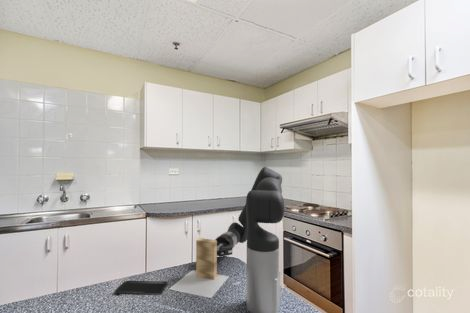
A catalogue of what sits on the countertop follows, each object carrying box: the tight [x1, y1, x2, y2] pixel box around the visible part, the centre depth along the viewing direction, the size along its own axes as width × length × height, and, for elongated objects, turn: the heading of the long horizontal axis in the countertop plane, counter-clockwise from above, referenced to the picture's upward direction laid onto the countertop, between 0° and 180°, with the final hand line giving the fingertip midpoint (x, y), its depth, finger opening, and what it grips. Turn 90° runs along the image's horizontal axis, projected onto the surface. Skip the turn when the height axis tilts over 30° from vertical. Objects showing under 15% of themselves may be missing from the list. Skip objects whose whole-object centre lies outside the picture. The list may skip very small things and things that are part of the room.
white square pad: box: [169, 269, 230, 299], centre depth 83 cm, size 15×15×1 cm
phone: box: [114, 280, 169, 296], centre depth 79 cm, size 8×1×15 cm
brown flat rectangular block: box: [195, 237, 218, 280], centre depth 88 cm, size 7×2×13 cm, turn 70°
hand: (208, 256), depth 89 cm, fingers closed
